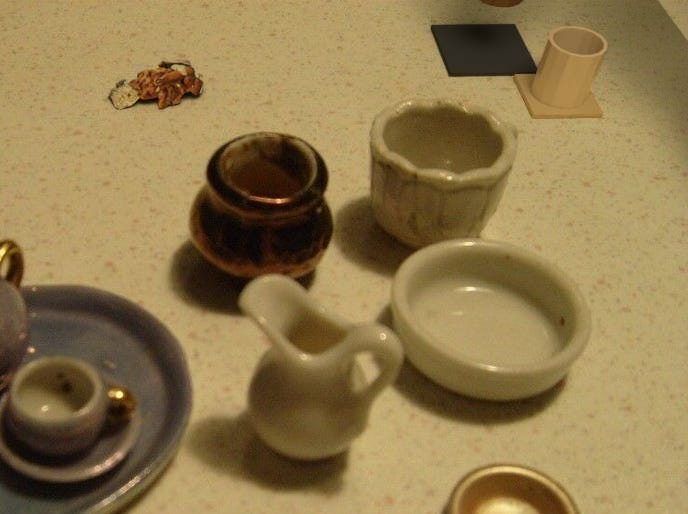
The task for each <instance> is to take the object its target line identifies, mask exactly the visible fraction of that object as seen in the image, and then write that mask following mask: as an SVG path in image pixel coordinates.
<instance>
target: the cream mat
mask: <svg viewBox="0 0 688 514" xmlns="http://www.w3.org/2000/svg"><path fill="white" fill-rule="evenodd" d="M534 76H535V74H515V75H514V76H513V80H514V82H515V84H516V86H517V88H518V89H517V90H518V91H519V93H520V95H521V98H522V99H523V101H524V104H525V105H526V107H527V110H528V112H529V114H530V116H531V118H532V119H578V118H579V119H581V118H582V119H583V118H584V119H585V118H587V119H588V118H592V119H593V118H603V116H604V112H603V110H602V108H601V106H600V105H599V102H598V101H597V99H596V97H595V95H594V94H593V92H592V89H591V90H590V92H589V95H588V97H587V99H586V101H585V103H584V104H583V105H581V106H580V107H577V108H574V109H557V108H552V107H549V106H547V105H544V104H542V103H541V102H539V101H538V100H536V99H535V98H534V97H533V95H532V93H531V85H532V81H533V79H534Z"/></svg>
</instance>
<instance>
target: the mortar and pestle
mask: <svg viewBox="0 0 688 514" xmlns="http://www.w3.org/2000/svg"><path fill="white" fill-rule="evenodd" d="M478 1H480V2H481V3H482V4H485V5H488V6H490V7H496V8H512V7H513V8H514V7H516V6H519V5H520V4H522V3H523V2H524V0H478Z"/></svg>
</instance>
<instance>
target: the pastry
mask: <svg viewBox="0 0 688 514" xmlns="http://www.w3.org/2000/svg"><path fill="white" fill-rule="evenodd" d="M174 65H177V66H179V67H176V68H175V69H174V68H173V66H174ZM197 75H198V76H197ZM197 75H196V69H195V67H193V66H192V62H191V60H189V59H188V58H184V59H175V60H169V59H166V60H161V62H160V63H158V64H157V68H155V69H152V68H151V69H145V70H141V71H140V72H138V73H137V75H136V79H132V80H130V81H129V82H128V81H127V80H126V79H121V80H117V81H116V82H115V88H111V89H110V91H109V93H108V94H107V97H109V98H110V100H111V101H112V103H113V105H114V107H115V108H116V109H118V110H119V111H120V110H122V109H124V108H126V107H131V106H133V105H134V104H135V103H136V102H137V101H138V100H140V99H141V100H146V101H147V100H151V99H155V98H158V100H157V103H158V108H159V110H165V109H166V108H167V106H169V105H171V106H174V105H177V104H180V103H181V102H182V99H183V96H184V95H185V94H187V93H188V92H191V93H192V94H193V95H194V96H196V95H200V94H201V93H202V91H203V89H204V87H205V83H204V80H202V78H204V76H203V74H202V73H201V74H200V73H197ZM200 78H201V79H200Z"/></svg>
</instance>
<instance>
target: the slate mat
mask: <svg viewBox="0 0 688 514" xmlns="http://www.w3.org/2000/svg"><path fill="white" fill-rule="evenodd" d="M430 25H431V26H430V29H431V30H430V31H431V33H432V36H433V38H434V41H435V43H436V45H437V48H438V51H439V54H440V56H441V58H442V61H443V63H444V66H445V68H446V69H445V70H446V71H447V73H448V76H449V77H508V76H509V77H512V76H513V77H514V75H515V74H535V73H536V70H537V67H538V65H537V64H536V62H535V61H534V58H533V56H532V55H531V53H530V50H529V49H528V47H527V44H526V43H525V41H524V39H523V37H522V35H521V32H520V31H519V29H518V27H517V25H516V23H459V24H458V23H452V24H448V23H447V24H445V23H444V24H443V23H442V24H439V23H438V24H430Z"/></svg>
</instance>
